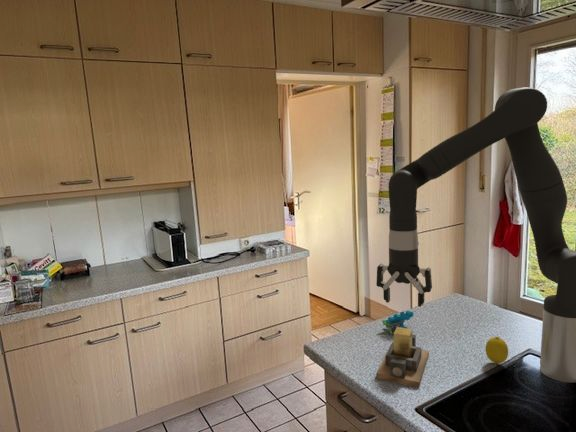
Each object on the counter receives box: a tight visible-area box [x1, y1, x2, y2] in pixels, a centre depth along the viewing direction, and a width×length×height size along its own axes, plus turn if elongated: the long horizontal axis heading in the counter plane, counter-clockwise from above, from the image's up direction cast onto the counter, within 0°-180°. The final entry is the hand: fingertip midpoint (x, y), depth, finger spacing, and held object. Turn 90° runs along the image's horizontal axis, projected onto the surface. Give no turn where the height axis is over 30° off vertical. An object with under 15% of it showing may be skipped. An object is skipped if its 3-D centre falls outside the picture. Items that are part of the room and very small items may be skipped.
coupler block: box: [393, 326, 413, 358], centre depth 111 cm, size 4×4×9 cm
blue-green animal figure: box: [382, 310, 415, 335], centre depth 133 cm, size 11×6×10 cm
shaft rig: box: [375, 334, 430, 388], centre depth 111 cm, size 11×17×6 cm, turn 153°
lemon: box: [485, 336, 509, 365], centre depth 110 cm, size 6×6×8 cm
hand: (403, 303), depth 109 cm, fingers open, 8 cm apart
